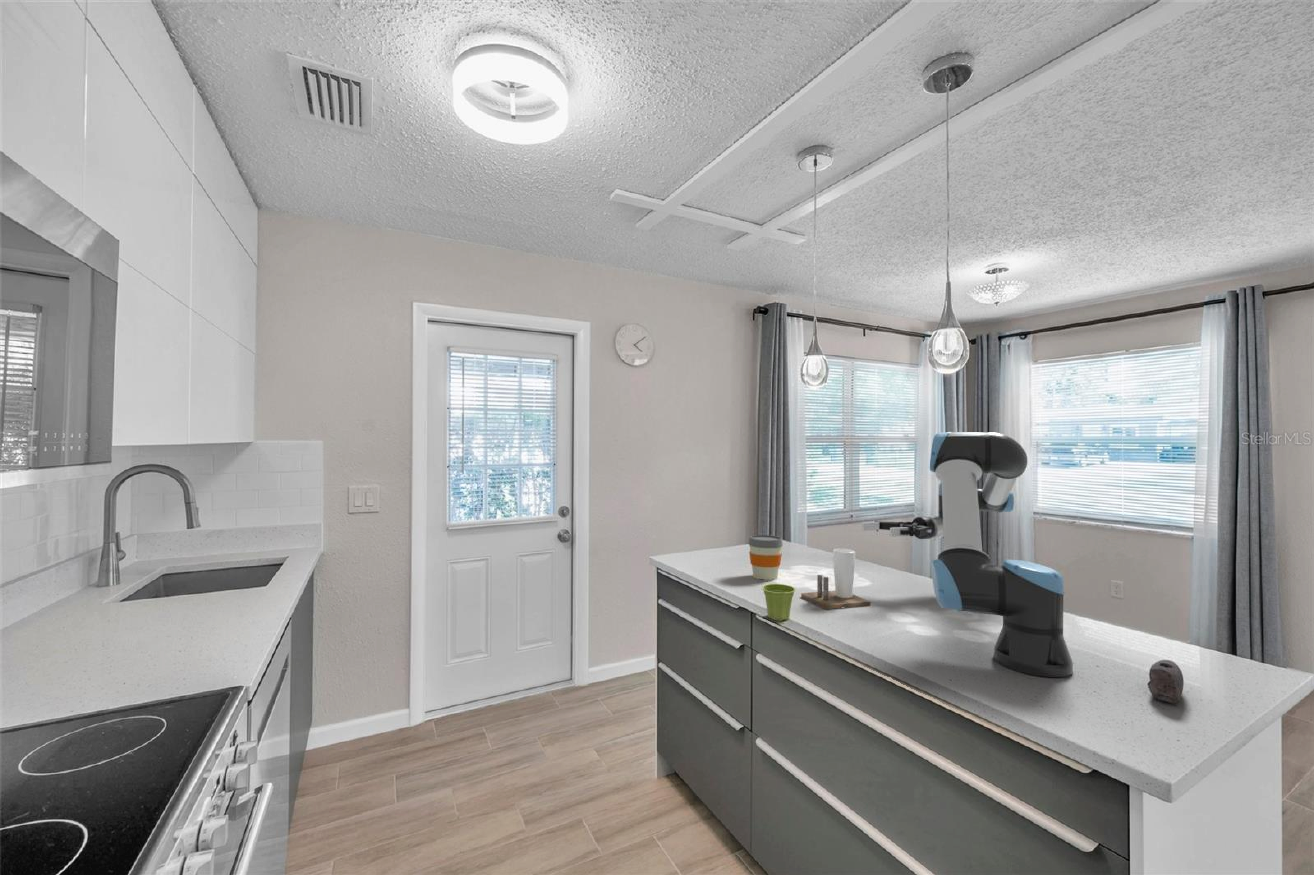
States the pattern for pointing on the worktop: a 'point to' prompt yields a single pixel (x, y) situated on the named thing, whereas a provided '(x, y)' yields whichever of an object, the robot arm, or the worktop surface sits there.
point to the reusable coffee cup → (765, 556)
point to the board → (831, 597)
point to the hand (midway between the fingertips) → (876, 529)
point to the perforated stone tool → (1166, 681)
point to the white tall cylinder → (844, 572)
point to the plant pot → (778, 600)
